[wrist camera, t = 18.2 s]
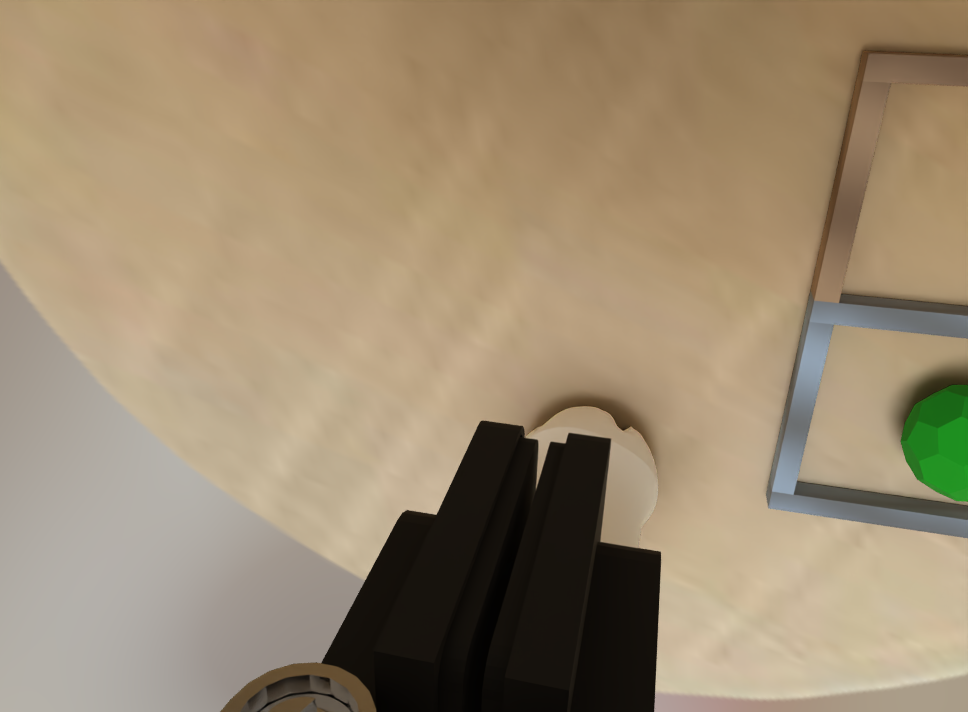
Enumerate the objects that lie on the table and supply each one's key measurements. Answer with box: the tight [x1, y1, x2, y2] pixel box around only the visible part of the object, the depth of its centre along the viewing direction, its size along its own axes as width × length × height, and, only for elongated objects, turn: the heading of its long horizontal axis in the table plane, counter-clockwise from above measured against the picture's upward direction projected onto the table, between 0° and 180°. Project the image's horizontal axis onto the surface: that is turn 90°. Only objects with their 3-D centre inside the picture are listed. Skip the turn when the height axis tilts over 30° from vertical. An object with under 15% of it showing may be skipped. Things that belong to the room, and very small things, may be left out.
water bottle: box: [525, 406, 658, 548], centre depth 30 cm, size 7×7×25 cm
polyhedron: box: [901, 385, 968, 502], centre depth 34 cm, size 5×5×5 cm
